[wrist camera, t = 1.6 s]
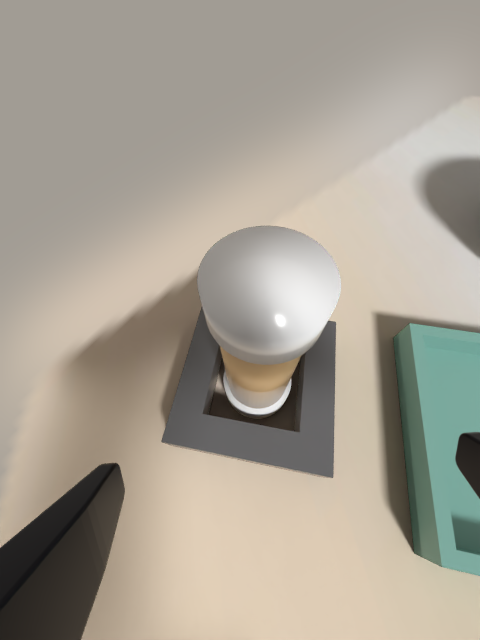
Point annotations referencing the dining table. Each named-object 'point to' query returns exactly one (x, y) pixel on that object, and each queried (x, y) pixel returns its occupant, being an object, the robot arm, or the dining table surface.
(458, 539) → the parts tray
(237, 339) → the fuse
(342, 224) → the dining table surface
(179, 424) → the frame
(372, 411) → the dining table surface
